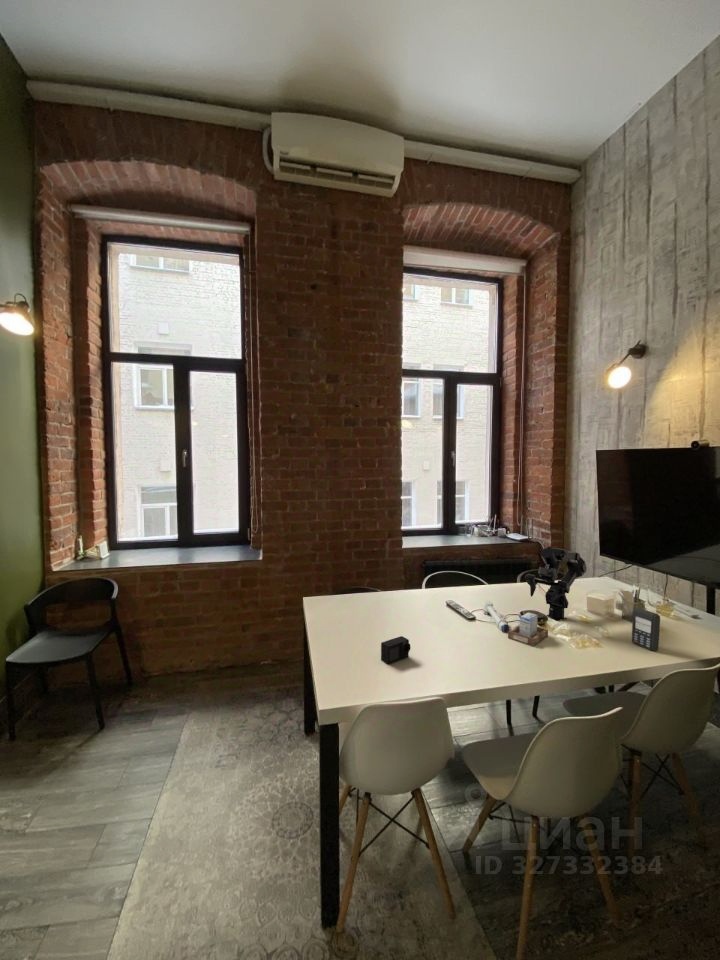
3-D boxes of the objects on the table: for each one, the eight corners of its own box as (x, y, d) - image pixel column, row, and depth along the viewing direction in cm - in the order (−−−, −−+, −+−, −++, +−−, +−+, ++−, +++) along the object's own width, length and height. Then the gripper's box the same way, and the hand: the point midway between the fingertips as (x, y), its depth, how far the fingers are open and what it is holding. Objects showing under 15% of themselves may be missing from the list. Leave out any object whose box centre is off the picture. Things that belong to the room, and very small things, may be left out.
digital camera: (390, 666, 147) (390, 647, 147) (380, 660, 151) (381, 642, 151) (410, 658, 153) (411, 640, 153) (401, 653, 157) (401, 635, 157)
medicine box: (526, 631, 178) (527, 611, 178) (537, 634, 175) (537, 614, 175) (519, 636, 173) (519, 616, 173) (529, 639, 170) (530, 619, 169)
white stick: (499, 624, 178) (481, 597, 203) (498, 638, 180) (480, 610, 205) (511, 624, 178) (492, 597, 203) (510, 638, 180) (491, 610, 205)
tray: (523, 628, 183) (523, 622, 183) (547, 636, 175) (548, 629, 175) (507, 638, 173) (507, 631, 172) (533, 646, 165) (533, 639, 165)
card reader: (629, 643, 170) (631, 608, 169) (636, 641, 172) (637, 606, 171) (653, 652, 162) (654, 615, 161) (659, 650, 163) (660, 614, 163)
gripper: (527, 557, 194) (516, 584, 186) (568, 564, 180) (558, 593, 173) (533, 570, 199) (522, 597, 192) (573, 578, 186) (564, 607, 179)
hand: (541, 598), depth 184 cm, fingers open, 9 cm apart
